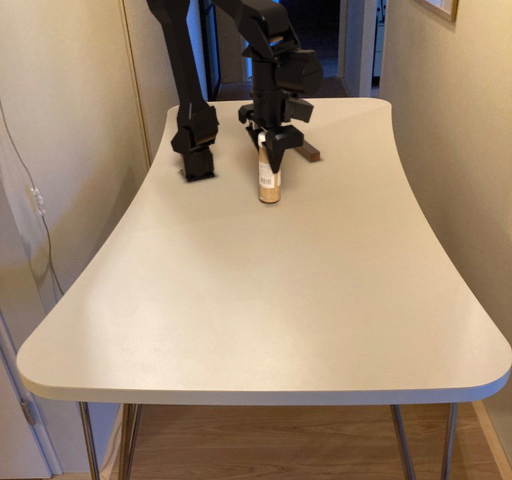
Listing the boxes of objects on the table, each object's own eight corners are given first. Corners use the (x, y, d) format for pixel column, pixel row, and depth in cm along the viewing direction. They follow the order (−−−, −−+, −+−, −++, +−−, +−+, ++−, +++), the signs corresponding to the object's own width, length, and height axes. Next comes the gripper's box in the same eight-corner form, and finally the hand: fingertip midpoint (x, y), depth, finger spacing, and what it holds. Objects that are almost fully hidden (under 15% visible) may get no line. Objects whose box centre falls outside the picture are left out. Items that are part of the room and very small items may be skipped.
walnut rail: (310, 162, 128) (311, 153, 126) (293, 147, 135) (293, 139, 134) (320, 160, 128) (320, 151, 127) (301, 145, 135) (302, 137, 134)
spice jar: (285, 197, 114) (287, 134, 104) (269, 205, 111) (270, 141, 102) (269, 189, 116) (270, 127, 107) (254, 197, 114) (253, 134, 104)
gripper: (332, 92, 94) (328, 178, 105) (287, 66, 108) (288, 145, 118) (272, 103, 92) (274, 190, 102) (234, 75, 105) (240, 155, 115)
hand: (270, 168), depth 109 cm, fingers closed on spice jar, 4 cm apart
